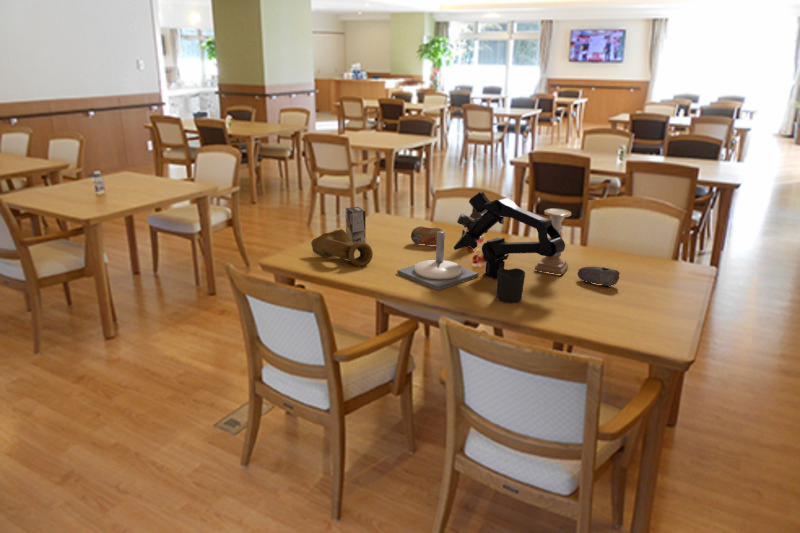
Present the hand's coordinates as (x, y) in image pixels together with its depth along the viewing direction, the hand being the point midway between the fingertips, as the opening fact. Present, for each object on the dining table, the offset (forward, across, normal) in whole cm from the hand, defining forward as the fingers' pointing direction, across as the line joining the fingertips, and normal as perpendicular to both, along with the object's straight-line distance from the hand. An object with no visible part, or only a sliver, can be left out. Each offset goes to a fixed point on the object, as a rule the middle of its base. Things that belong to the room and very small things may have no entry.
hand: (454, 248), depth 231 cm
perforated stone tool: (-31, +4, +45) cm, 55 cm away
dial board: (+10, +6, +2) cm, 12 cm away
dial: (+9, +6, +1) cm, 11 cm away
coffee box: (+38, -25, -25) cm, 52 cm away
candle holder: (-21, -9, +34) cm, 41 cm away
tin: (+16, -31, -3) cm, 35 cm away
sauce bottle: (+1, -34, +12) cm, 36 cm away
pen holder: (-8, +24, +21) cm, 34 cm away
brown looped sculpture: (+39, -4, -26) cm, 47 cm away
